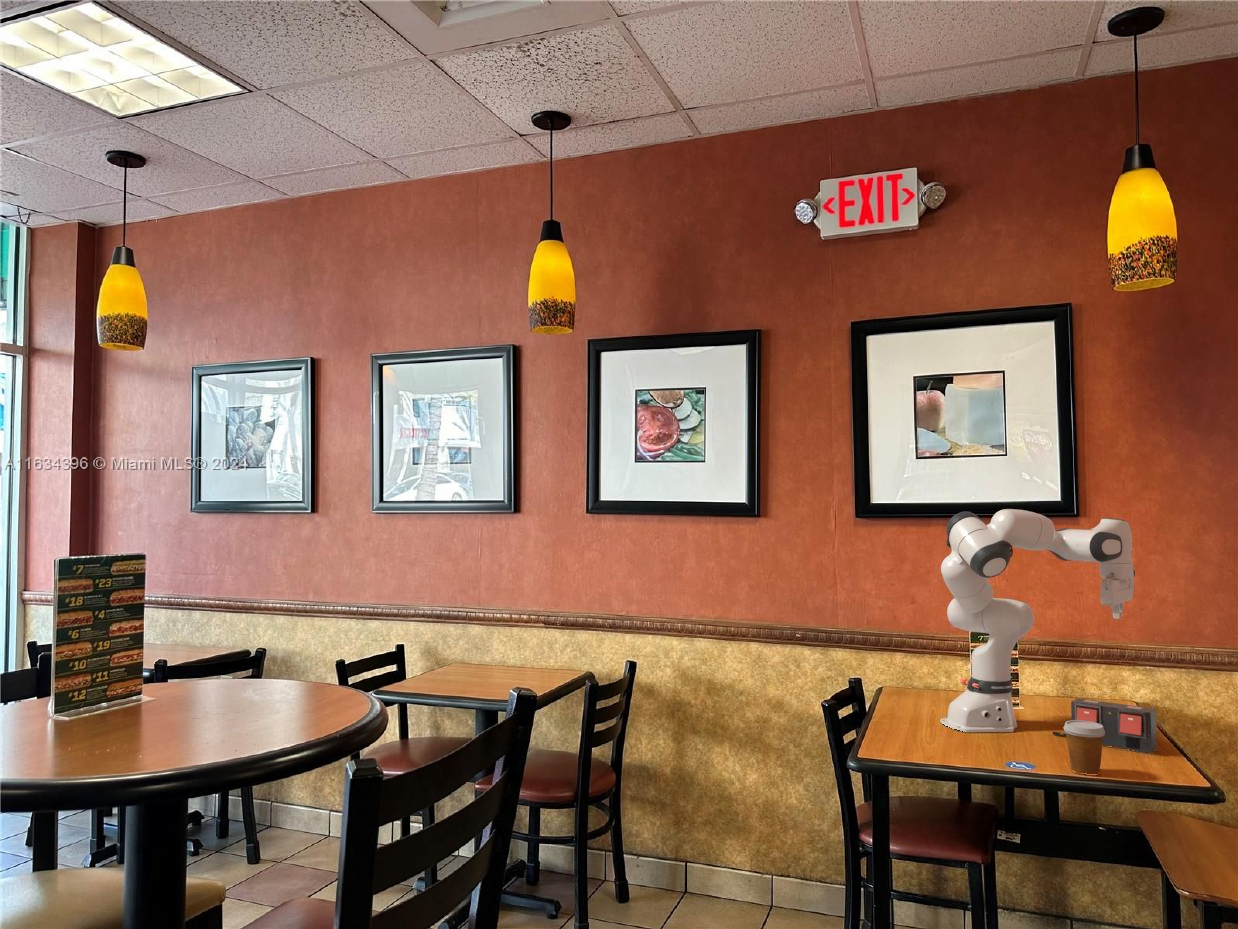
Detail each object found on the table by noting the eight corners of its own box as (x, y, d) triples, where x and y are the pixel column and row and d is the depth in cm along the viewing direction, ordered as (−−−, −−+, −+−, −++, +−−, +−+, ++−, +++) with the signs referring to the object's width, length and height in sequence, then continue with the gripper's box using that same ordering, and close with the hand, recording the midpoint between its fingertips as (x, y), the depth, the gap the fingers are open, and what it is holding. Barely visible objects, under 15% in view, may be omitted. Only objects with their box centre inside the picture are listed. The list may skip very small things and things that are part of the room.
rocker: (1097, 728, 245) (1097, 710, 247) (1095, 728, 245) (1096, 710, 246) (1077, 725, 249) (1078, 707, 250) (1076, 725, 248) (1077, 707, 249)
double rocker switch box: (1157, 749, 242) (1155, 708, 242) (1151, 755, 237) (1149, 712, 237) (1056, 733, 260) (1055, 694, 260) (1049, 737, 255) (1048, 698, 255)
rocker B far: (1141, 735, 238) (1142, 716, 239) (1140, 735, 237) (1140, 716, 238) (1121, 732, 241) (1121, 713, 242) (1119, 732, 240) (1120, 713, 242)
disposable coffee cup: (1105, 780, 216) (1104, 731, 217) (1062, 774, 221) (1061, 726, 222) (1107, 770, 224) (1106, 722, 225) (1066, 764, 229) (1064, 718, 230)
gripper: (1117, 575, 254) (1118, 623, 254) (1137, 570, 269) (1138, 615, 268) (1093, 574, 259) (1095, 621, 258) (1114, 569, 273) (1116, 613, 273)
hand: (1117, 618), depth 263 cm, fingers closed
